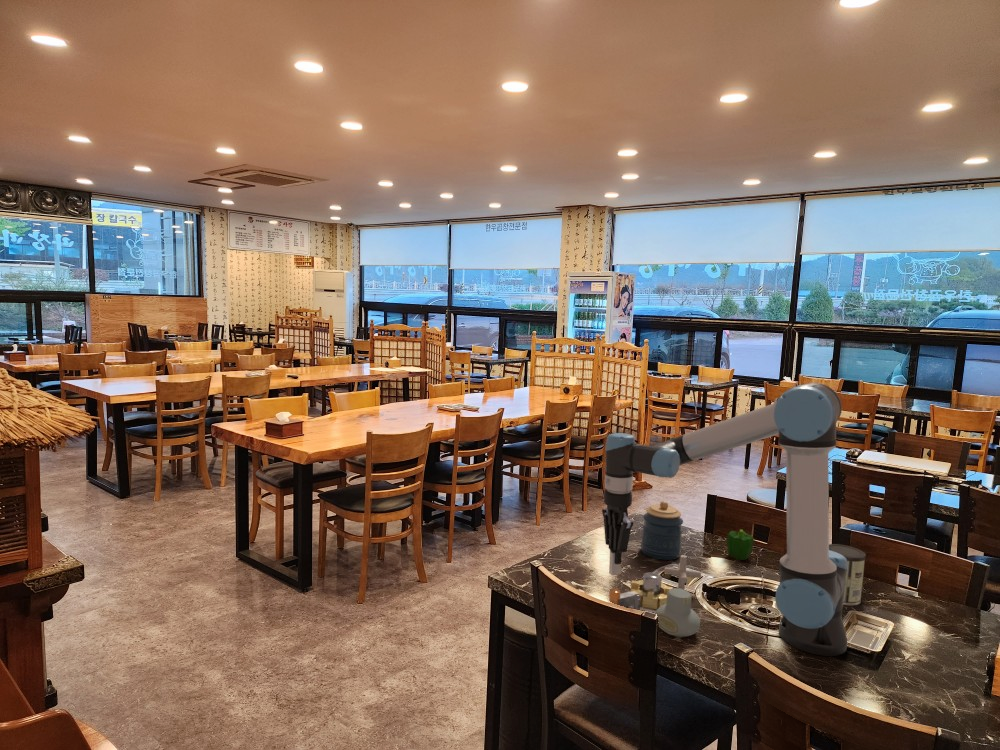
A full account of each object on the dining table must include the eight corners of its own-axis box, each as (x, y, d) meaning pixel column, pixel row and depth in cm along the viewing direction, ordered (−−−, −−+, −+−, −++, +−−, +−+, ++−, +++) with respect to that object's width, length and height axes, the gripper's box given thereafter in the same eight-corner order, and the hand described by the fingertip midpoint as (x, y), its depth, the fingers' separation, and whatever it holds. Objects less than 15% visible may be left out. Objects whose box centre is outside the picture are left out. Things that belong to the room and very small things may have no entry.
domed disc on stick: (652, 587, 175) (653, 572, 175) (680, 604, 165) (681, 588, 165) (597, 599, 166) (598, 583, 166) (623, 618, 156) (624, 601, 156)
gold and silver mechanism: (688, 609, 166) (690, 580, 165) (632, 628, 154) (635, 598, 153) (648, 588, 178) (650, 561, 177) (594, 605, 166) (596, 576, 165)
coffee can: (825, 586, 185) (830, 540, 183) (864, 598, 178) (869, 551, 176) (815, 596, 177) (820, 549, 176) (855, 609, 170) (860, 560, 169)
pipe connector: (701, 599, 172) (704, 565, 171) (664, 594, 174) (667, 560, 173) (697, 584, 182) (699, 551, 181) (662, 579, 184) (664, 547, 183)
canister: (685, 561, 198) (689, 508, 196) (645, 559, 198) (649, 506, 197) (674, 546, 211) (678, 496, 209) (636, 544, 211) (640, 494, 210)
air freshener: (648, 625, 156) (651, 588, 155) (669, 617, 161) (672, 580, 160) (684, 645, 147) (687, 606, 146) (705, 636, 152) (708, 597, 151)
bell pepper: (729, 550, 210) (731, 521, 209) (754, 556, 205) (757, 527, 204) (721, 557, 203) (724, 528, 202) (747, 564, 198) (750, 534, 197)
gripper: (594, 484, 172) (591, 566, 174) (618, 497, 160) (614, 585, 162) (618, 483, 175) (614, 563, 177) (643, 495, 163) (639, 581, 165)
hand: (614, 573), depth 170 cm, fingers closed
